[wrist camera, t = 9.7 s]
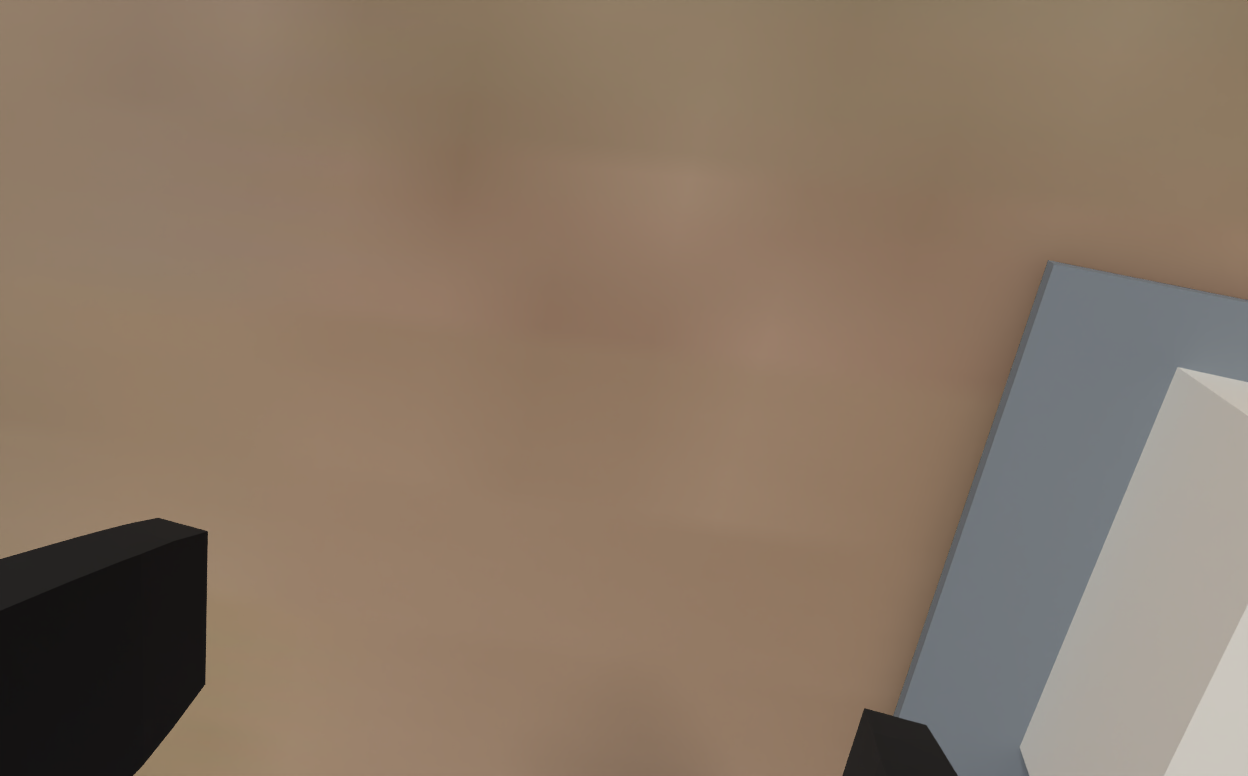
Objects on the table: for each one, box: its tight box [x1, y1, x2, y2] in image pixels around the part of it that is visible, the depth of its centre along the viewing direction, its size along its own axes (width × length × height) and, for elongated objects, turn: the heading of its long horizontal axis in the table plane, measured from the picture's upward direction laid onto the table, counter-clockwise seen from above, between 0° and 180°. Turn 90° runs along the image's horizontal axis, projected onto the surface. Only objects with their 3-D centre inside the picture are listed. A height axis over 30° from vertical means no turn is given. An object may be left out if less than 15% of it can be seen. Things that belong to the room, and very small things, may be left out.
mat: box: [893, 260, 1248, 776], centre depth 17 cm, size 12×9×1 cm
